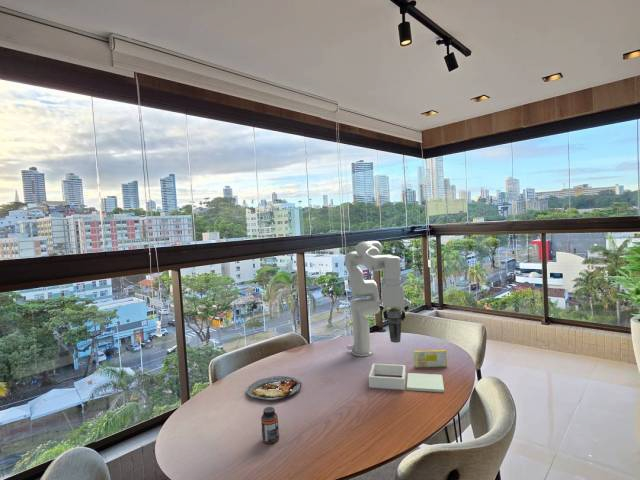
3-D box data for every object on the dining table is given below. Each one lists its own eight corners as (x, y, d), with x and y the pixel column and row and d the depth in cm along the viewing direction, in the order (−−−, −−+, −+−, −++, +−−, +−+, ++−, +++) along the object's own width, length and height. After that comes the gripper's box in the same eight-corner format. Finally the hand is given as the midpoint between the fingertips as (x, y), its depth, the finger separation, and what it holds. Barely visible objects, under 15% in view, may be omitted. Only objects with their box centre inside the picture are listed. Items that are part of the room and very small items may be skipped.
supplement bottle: (263, 435, 133) (261, 405, 133) (279, 434, 133) (277, 404, 133) (261, 445, 127) (259, 414, 127) (278, 443, 128) (277, 412, 127)
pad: (406, 389, 163) (406, 387, 163) (408, 375, 178) (407, 372, 178) (444, 392, 159) (444, 389, 159) (442, 377, 174) (442, 374, 174)
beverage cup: (404, 339, 173) (402, 297, 173) (402, 344, 166) (400, 301, 166) (389, 338, 176) (387, 297, 175) (386, 343, 169) (384, 300, 168)
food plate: (309, 383, 175) (309, 376, 175) (285, 407, 154) (284, 399, 154) (266, 378, 185) (265, 371, 185) (237, 399, 164) (237, 392, 164)
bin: (369, 387, 168) (368, 376, 167) (373, 373, 183) (373, 363, 183) (404, 389, 163) (404, 378, 163) (405, 375, 179) (405, 365, 178)
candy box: (446, 365, 188) (445, 349, 188) (447, 367, 186) (446, 351, 186) (414, 365, 190) (413, 350, 190) (415, 367, 188) (414, 351, 187)
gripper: (373, 283, 169) (375, 321, 170) (411, 283, 164) (413, 322, 165) (375, 281, 176) (377, 317, 177) (412, 281, 171) (413, 318, 172)
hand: (394, 319), depth 171 cm, fingers closed on beverage cup, 7 cm apart
